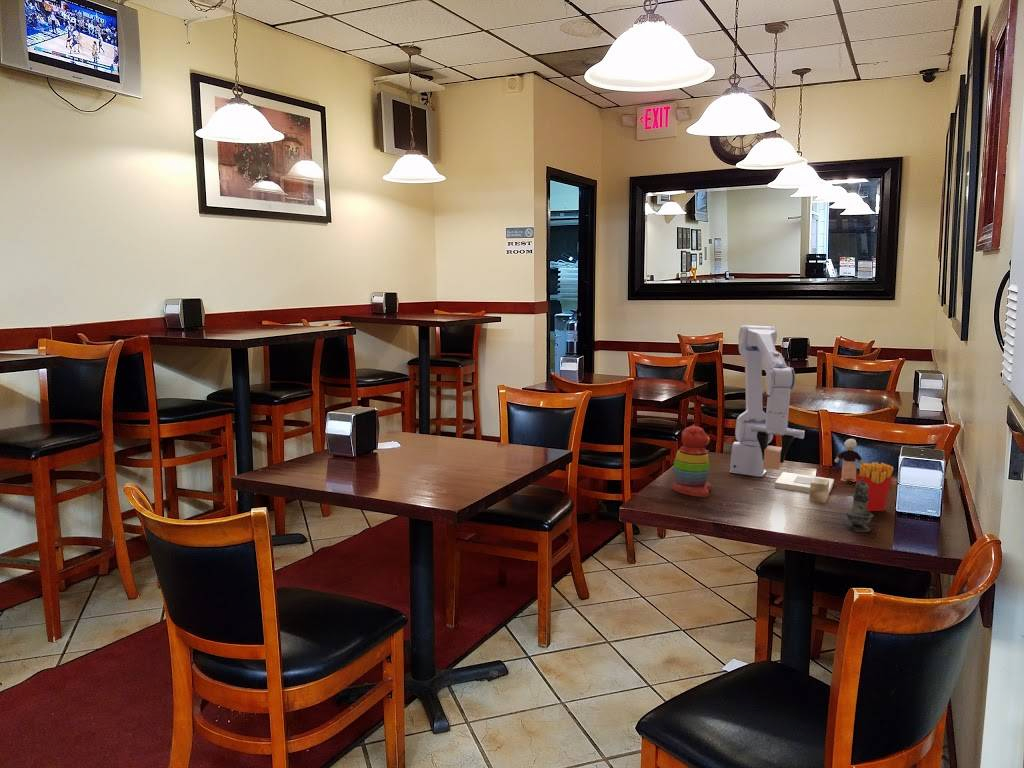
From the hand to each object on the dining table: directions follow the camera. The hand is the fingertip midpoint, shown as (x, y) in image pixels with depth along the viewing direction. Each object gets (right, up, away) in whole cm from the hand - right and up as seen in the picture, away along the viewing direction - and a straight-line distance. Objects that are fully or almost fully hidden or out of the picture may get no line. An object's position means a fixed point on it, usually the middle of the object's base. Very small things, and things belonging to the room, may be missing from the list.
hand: (773, 460), depth 210 cm
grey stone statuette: (+10, -13, -29) cm, 33 cm away
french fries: (+21, -11, -13) cm, 27 cm away
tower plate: (+11, -8, +7) cm, 16 cm away
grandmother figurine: (+26, -8, +14) cm, 31 cm away
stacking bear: (-23, -8, -2) cm, 24 cm away
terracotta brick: (0, -2, 0) cm, 2 cm away
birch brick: (+10, -10, -5) cm, 15 cm away
